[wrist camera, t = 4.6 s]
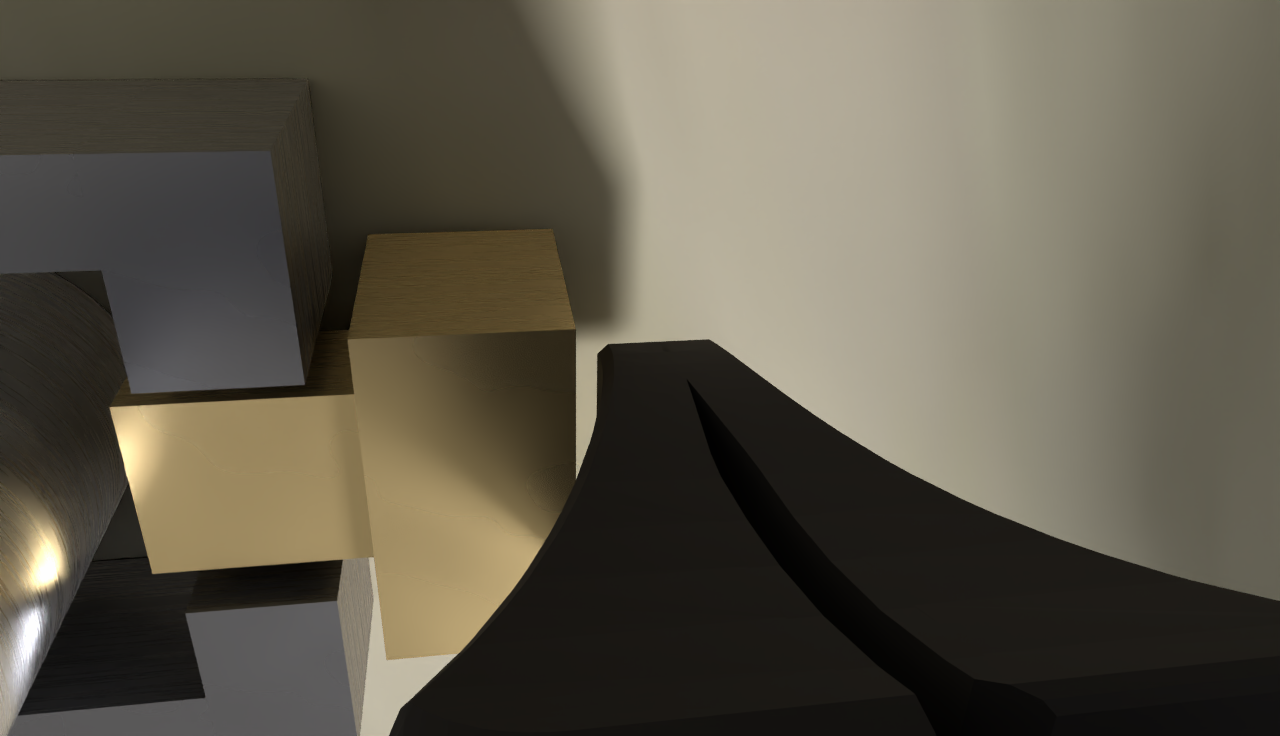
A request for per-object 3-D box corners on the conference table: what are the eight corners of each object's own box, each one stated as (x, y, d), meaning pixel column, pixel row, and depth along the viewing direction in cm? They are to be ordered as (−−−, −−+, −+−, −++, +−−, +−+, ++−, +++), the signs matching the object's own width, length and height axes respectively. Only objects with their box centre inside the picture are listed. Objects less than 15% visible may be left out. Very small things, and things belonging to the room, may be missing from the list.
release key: (553, 229, 11) (575, 329, 9) (555, 504, 13) (576, 642, 11) (143, 240, 11) (63, 352, 9) (206, 529, 12) (155, 681, 10)
